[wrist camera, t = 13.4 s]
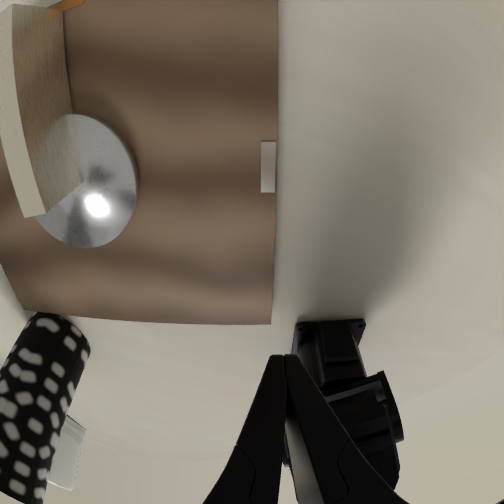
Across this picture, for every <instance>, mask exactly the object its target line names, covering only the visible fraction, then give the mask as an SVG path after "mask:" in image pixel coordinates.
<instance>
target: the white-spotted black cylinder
mask: <svg viewBox="0 0 504 504" xmlns="http://www.w3.org/2000/svg"><path fill="white" fill-rule="evenodd" d="M89 355H90V346H89V344H88V342H87V340H86V338H85V337H84V336H83V334H82V333H81V332H80V331H79V330H78V329H77V328H76V327H75V326H73V325H72V324H71V323H70V322H68V321H67V320H65V319H64V318H62V317H60V316H58V315H56V314H53V313H45V312H38V311H37V312H34V313H33V314H32V316H31V318H30V319H29V321H28V322H27V324H26V326H25V327H24V329H23V331H22V332H21V334H20V336H19V337H18V339H17V341H16V342H15V344H14V346H13V348H12V350H11V351H10V353H9V355H8V357H7V359H6V361H5V362H4V364H3V366H2V368H1V370H0V491H1V492H3V493H5V494H7V495H8V496H10V497H12V498H14V499H16V500H18V501H20V502H22V503H24V504H43V499H44V495H45V490H46V486H47V481H48V477H49V473H50V469H51V466H52V462H53V458H54V455H55V451H56V448H57V444H58V441H59V438H60V434H61V431H62V428H63V425H64V422H65V419H66V416H67V413H68V410H69V407H70V404H71V401H72V399H73V396H74V393H75V390H76V388H77V385H78V383H79V380H80V377H81V375H82V372H83V370H84V367H85V365H86V362H87V360H88V357H89Z"/></svg>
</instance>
